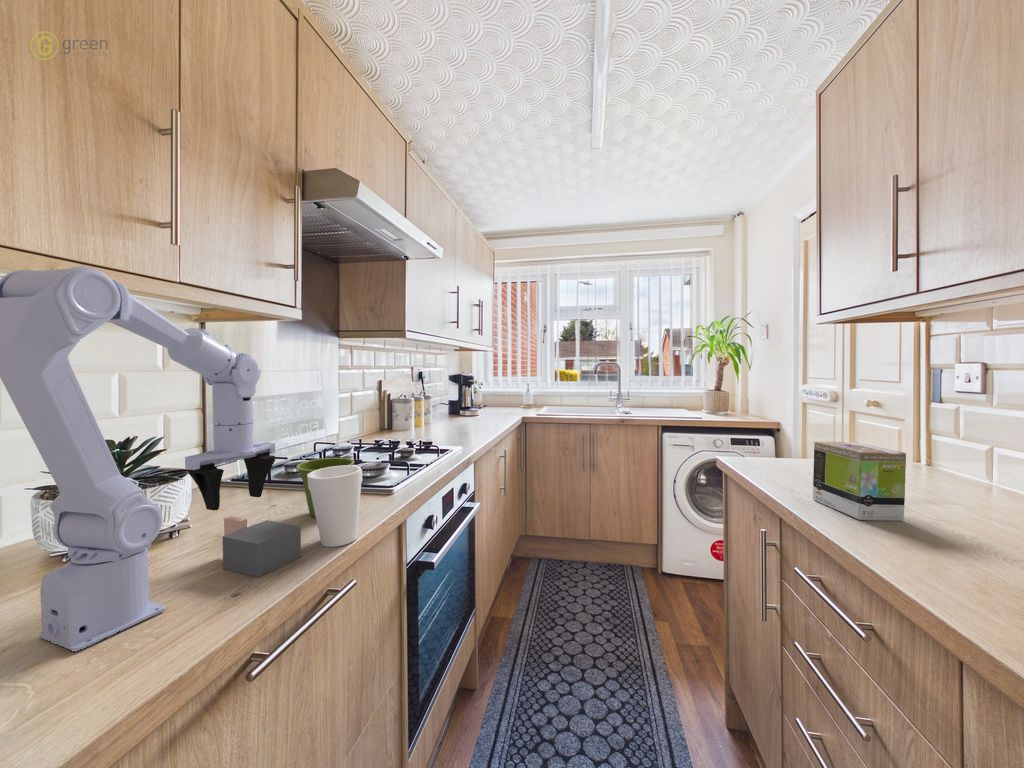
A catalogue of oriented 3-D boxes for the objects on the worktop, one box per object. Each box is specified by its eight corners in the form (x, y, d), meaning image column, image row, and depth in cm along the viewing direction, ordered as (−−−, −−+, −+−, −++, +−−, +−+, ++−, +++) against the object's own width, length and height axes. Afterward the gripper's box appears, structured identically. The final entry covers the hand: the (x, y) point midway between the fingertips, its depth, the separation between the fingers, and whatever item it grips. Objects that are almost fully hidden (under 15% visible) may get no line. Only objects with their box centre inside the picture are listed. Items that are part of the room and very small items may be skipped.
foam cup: (307, 554, 76) (302, 481, 75) (316, 533, 85) (311, 468, 84) (364, 545, 78) (360, 475, 77) (367, 526, 87) (363, 463, 86)
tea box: (906, 521, 91) (908, 452, 91) (858, 521, 92) (860, 452, 91) (852, 500, 106) (853, 440, 106) (810, 499, 107) (812, 440, 106)
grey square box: (258, 577, 67) (257, 543, 67) (223, 568, 70) (222, 536, 70) (301, 556, 74) (300, 526, 74) (267, 549, 77) (266, 520, 77)
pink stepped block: (260, 562, 69) (260, 529, 69) (216, 552, 73) (215, 520, 73) (282, 552, 73) (281, 521, 73) (239, 543, 77) (238, 513, 77)
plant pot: (292, 511, 98) (291, 462, 97) (346, 501, 105) (345, 455, 105) (304, 526, 88) (303, 472, 88) (362, 514, 96) (361, 464, 95)
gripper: (205, 430, 65) (207, 519, 66) (286, 420, 79) (288, 493, 79) (175, 428, 68) (177, 513, 68) (259, 418, 81) (260, 489, 82)
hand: (235, 502), depth 74 cm, fingers open, 7 cm apart
